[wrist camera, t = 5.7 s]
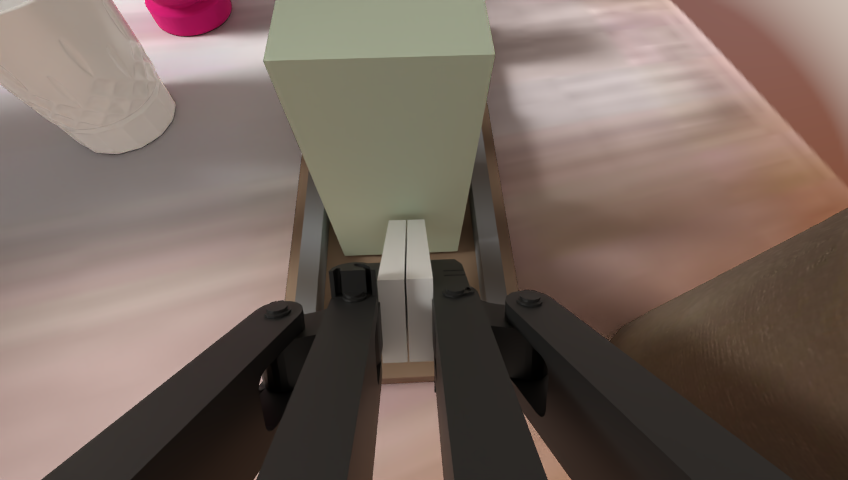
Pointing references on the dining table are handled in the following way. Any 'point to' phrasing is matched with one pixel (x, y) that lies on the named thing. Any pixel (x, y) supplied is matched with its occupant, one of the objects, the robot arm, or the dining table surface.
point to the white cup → (83, 72)
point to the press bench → (477, 251)
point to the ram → (385, 109)
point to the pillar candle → (764, 351)
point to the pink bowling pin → (189, 15)
